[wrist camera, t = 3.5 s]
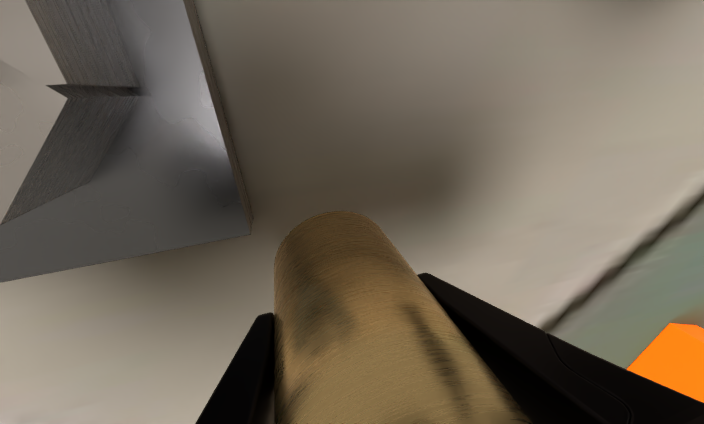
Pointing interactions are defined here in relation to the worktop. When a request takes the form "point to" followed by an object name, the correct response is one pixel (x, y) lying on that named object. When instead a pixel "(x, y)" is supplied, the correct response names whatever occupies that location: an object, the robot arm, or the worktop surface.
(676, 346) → the orange juice
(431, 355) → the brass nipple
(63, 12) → the manifold
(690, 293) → the worktop surface
